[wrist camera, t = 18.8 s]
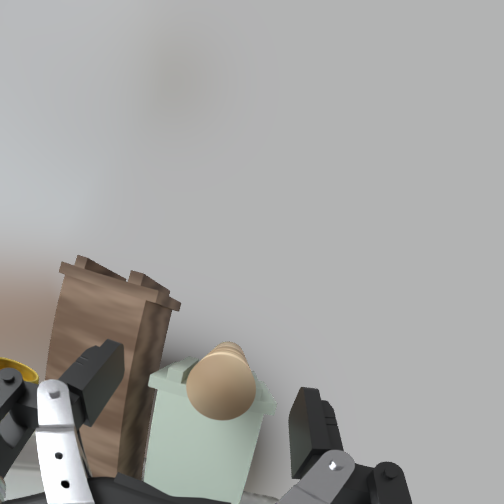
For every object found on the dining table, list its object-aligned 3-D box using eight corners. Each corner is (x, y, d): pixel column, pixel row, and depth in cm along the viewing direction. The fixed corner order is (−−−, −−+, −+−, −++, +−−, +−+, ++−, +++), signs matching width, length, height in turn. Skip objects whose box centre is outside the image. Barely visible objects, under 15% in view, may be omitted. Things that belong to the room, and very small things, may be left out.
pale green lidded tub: (232, 553, 17) (279, 392, 24) (130, 529, 17) (152, 362, 24) (231, 506, 29) (265, 373, 35) (153, 488, 29) (177, 353, 35)
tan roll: (234, 431, 16) (268, 376, 17) (174, 398, 16) (207, 342, 17) (234, 377, 37) (249, 351, 38) (206, 362, 37) (222, 335, 38)
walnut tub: (122, 526, 17) (161, 278, 26) (39, 484, 17) (65, 250, 26) (146, 486, 29) (183, 294, 38) (78, 457, 29) (107, 273, 38)
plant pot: (42, 416, 36) (45, 372, 39) (27, 436, 27) (28, 386, 29) (0, 396, 32) (2, 353, 35) (-20, 411, 23) (-21, 361, 26)
